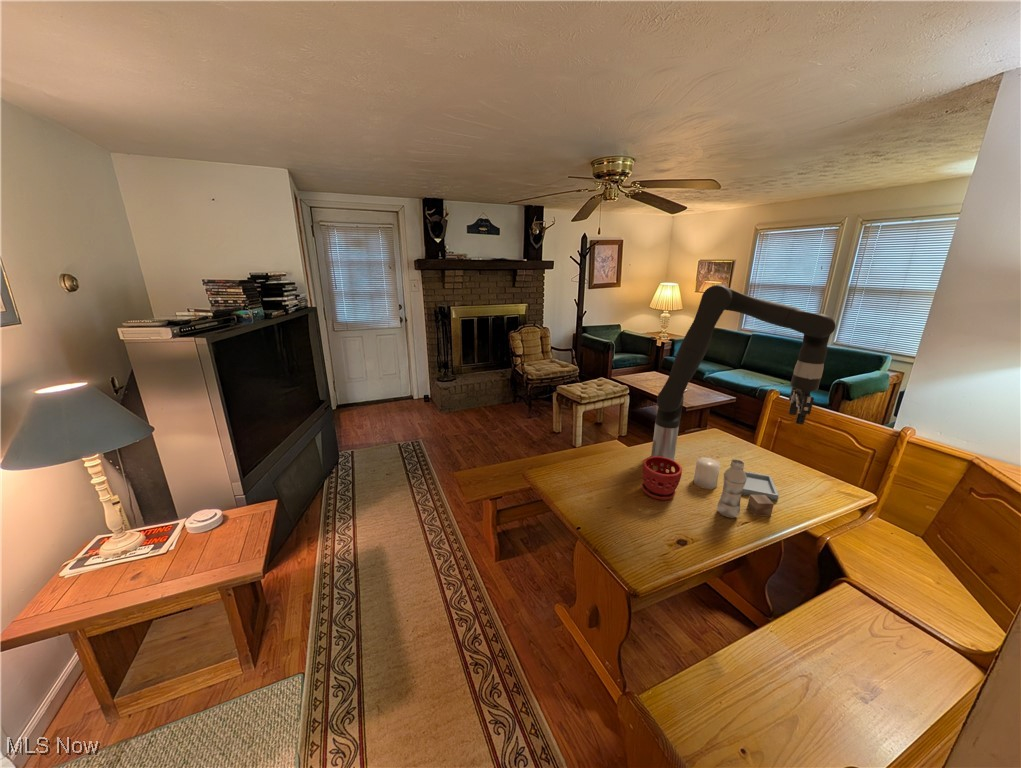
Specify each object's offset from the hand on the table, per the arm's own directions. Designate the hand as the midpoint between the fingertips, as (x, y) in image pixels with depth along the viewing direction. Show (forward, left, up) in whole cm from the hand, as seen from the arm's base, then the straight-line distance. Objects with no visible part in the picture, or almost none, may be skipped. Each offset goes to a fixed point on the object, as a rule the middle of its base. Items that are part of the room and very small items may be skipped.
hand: (795, 419), depth 130 cm
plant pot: (-41, -19, -29) cm, 54 cm away
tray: (-9, -1, -29) cm, 30 cm away
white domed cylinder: (-25, -5, -29) cm, 38 cm away
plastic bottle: (-19, -23, -29) cm, 41 cm away
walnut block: (-9, -17, -29) cm, 35 cm away
